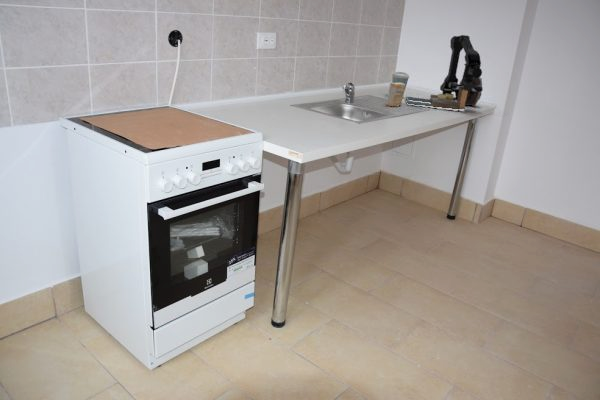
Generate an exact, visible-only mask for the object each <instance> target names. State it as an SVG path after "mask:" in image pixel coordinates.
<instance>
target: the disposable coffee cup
mask: <svg viewBox="0 0 600 400" xmlns="http://www.w3.org/2000/svg"><path fill="white" fill-rule="evenodd" d="M391 76H392V77H391V78H392V79H391V80H392V82H391V83H403V84H405V88H404V92H405V91H406V88H407V85H408V81H409V78H410V76H409V74H408V73H406V72H404V71H403V72H402V71H394V72H393V73H392V75H391Z"/></svg>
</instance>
